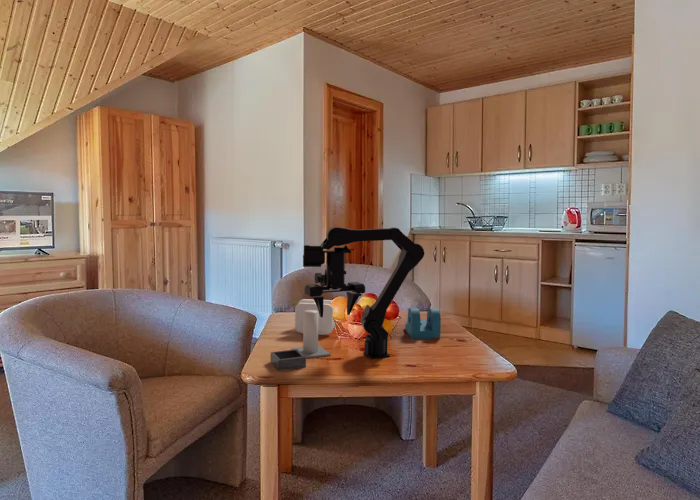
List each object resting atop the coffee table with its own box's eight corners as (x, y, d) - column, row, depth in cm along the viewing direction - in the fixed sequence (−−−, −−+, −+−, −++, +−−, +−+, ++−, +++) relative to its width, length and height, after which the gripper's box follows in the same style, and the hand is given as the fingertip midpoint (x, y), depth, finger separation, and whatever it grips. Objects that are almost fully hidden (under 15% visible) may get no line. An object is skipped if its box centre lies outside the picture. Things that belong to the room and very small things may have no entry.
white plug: (318, 348, 154) (318, 310, 153) (317, 353, 149) (318, 313, 148) (303, 348, 153) (304, 309, 152) (302, 353, 149) (303, 312, 148)
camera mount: (440, 339, 170) (441, 310, 169) (411, 339, 170) (412, 310, 169) (428, 326, 188) (429, 301, 187) (403, 326, 188) (403, 301, 187)
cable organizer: (292, 334, 174) (292, 303, 173) (299, 327, 184) (299, 298, 184) (332, 335, 172) (332, 305, 171) (336, 328, 183) (337, 299, 182)
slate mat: (319, 347, 158) (319, 345, 158) (330, 355, 149) (330, 353, 149) (290, 350, 154) (290, 348, 154) (300, 359, 145) (300, 357, 144)
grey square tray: (297, 358, 145) (297, 349, 145) (305, 366, 138) (306, 357, 137) (270, 361, 142) (270, 352, 142) (278, 370, 134) (278, 360, 134)
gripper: (351, 263, 157) (351, 308, 158) (299, 265, 149) (298, 313, 150) (366, 267, 147) (365, 315, 148) (310, 269, 139) (310, 320, 140)
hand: (334, 315), depth 147 cm, fingers open, 9 cm apart
